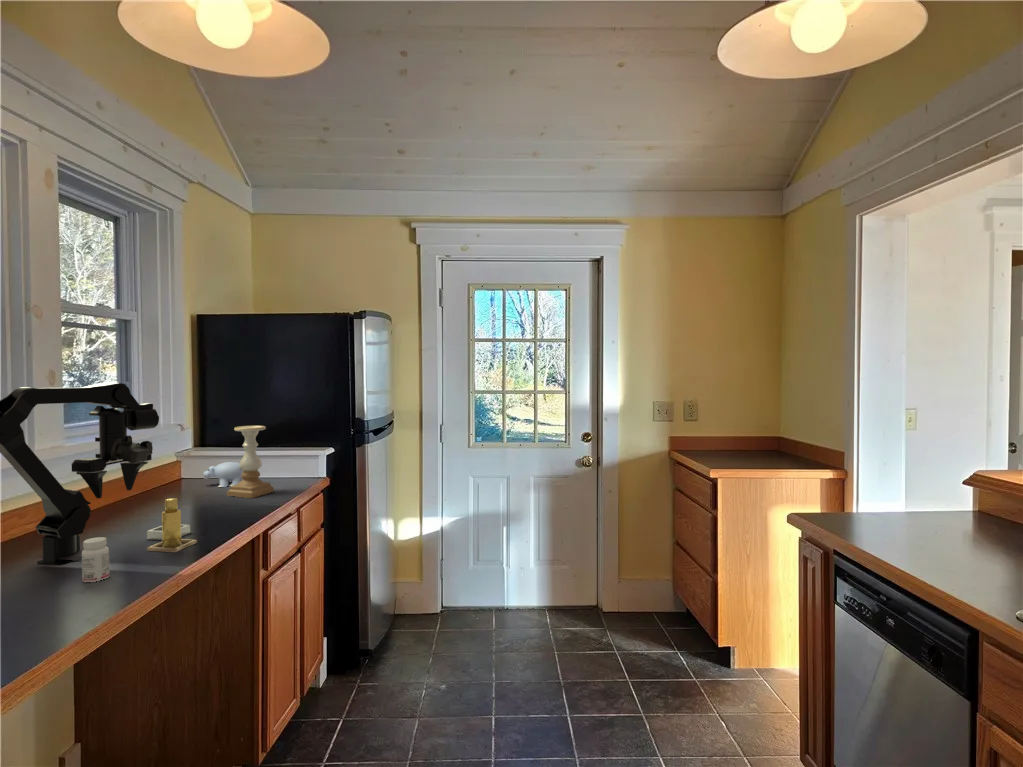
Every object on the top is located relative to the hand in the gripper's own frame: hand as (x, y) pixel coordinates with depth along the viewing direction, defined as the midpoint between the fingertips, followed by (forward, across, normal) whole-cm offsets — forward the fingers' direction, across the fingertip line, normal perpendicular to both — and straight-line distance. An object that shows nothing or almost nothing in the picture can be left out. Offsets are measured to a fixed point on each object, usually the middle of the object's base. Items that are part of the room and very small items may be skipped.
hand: (114, 494), depth 145 cm
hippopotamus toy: (+13, +72, +20) cm, 76 cm away
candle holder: (+13, +59, +1) cm, 60 cm away
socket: (+13, +5, -11) cm, 18 cm away
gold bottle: (+12, -3, -18) cm, 22 cm away
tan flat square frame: (+13, -3, -18) cm, 23 cm away
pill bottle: (+13, -21, -15) cm, 29 cm away
